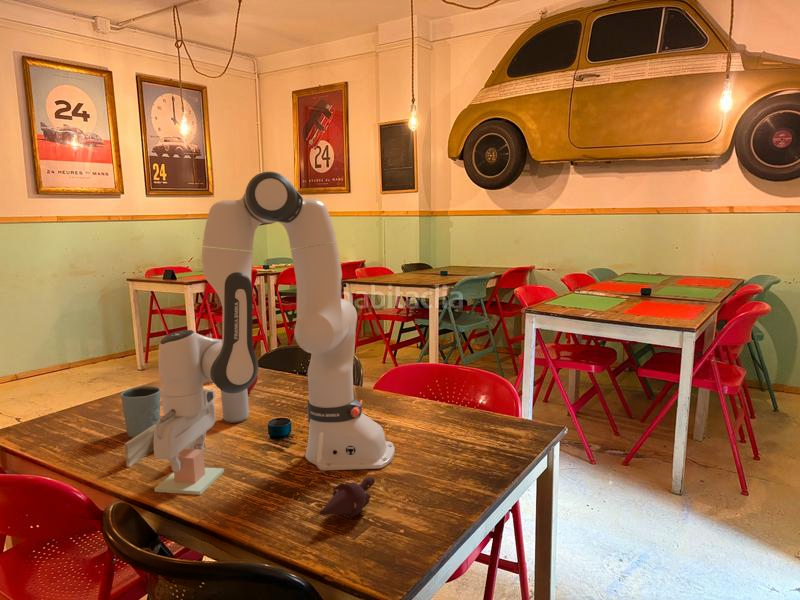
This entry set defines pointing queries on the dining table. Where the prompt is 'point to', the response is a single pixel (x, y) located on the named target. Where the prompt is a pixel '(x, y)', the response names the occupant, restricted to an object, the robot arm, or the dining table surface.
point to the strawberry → (252, 385)
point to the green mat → (190, 488)
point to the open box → (143, 446)
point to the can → (235, 406)
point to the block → (190, 466)
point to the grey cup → (140, 409)
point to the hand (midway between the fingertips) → (188, 460)
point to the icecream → (348, 498)
